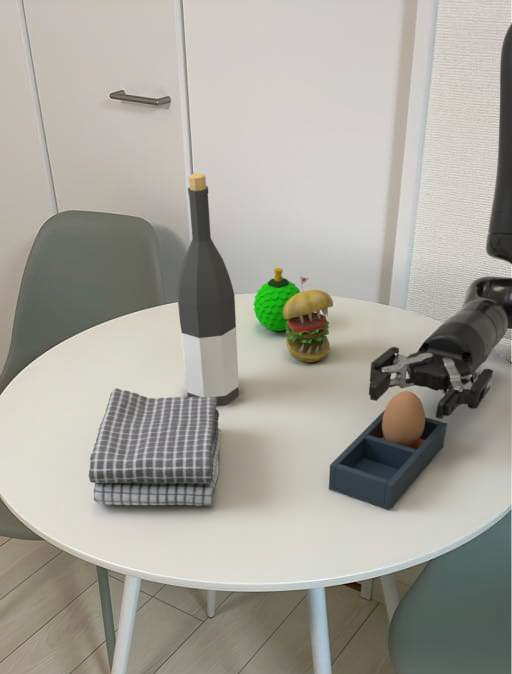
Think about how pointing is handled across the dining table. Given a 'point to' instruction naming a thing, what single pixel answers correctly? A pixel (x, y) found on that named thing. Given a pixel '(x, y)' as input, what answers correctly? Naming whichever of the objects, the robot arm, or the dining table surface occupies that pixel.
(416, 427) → the egg
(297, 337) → the hamburger
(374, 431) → the divided tray
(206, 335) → the wine bottle
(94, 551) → the dining table surface
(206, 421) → the towel
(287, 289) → the ornament
